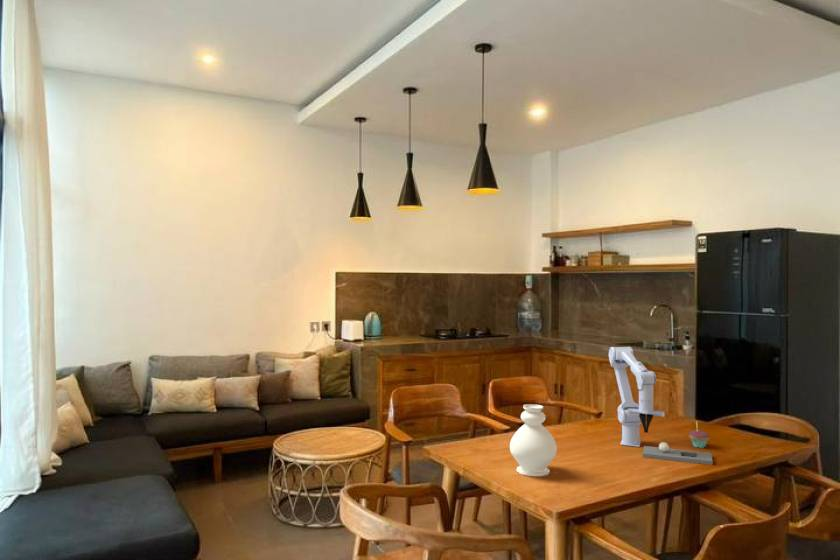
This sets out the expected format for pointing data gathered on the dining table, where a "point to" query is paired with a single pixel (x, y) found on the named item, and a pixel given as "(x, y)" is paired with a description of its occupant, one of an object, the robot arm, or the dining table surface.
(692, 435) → the cupcake
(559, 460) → the dining table surface
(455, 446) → the dining table surface
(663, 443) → the ball
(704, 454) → the board
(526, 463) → the decorative vase
